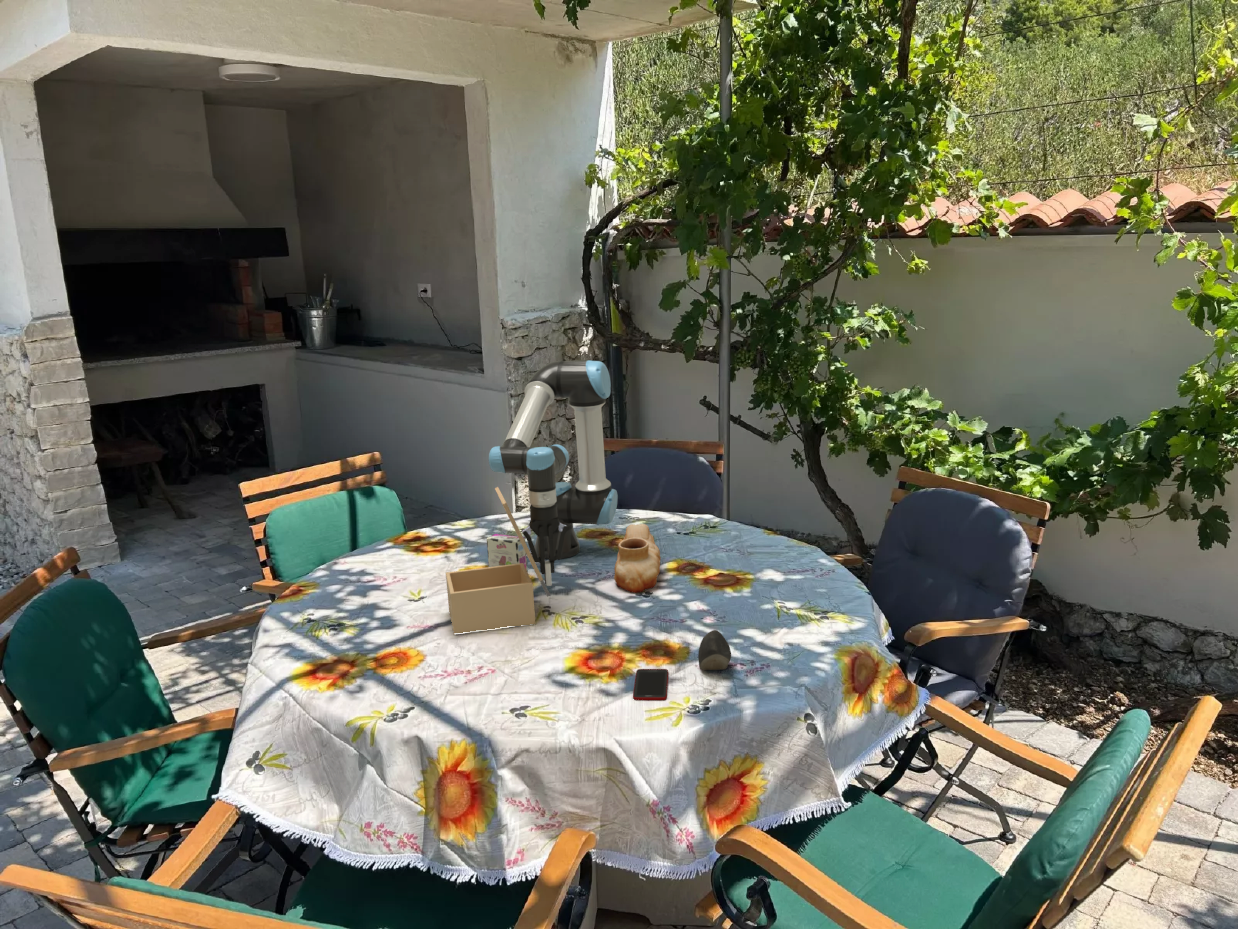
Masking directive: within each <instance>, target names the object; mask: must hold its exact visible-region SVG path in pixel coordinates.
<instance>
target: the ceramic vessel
mask: <svg viewBox="0 0 1238 929" xmlns="http://www.w3.org/2000/svg"><path fill="white" fill-rule="evenodd" d="M617 546H618V552H617V556H616V561H615V564H614V569H613V570H614V577H613V580H614V582H615V584H616V586H617V587H618V589H621V590H623V591H627V592H628V593H631V594H632V593H633V594H638V593H640V594H641V593H643V592H644V591H647V590H649V589H650V590H651V589H653V588H655V587H656V586H657V581H658V576H659V574H660V573H661V572H660V571H661V558H662V557H661V551H660V550H661V549H659V547H658V545H656V542H655V538H654V536H653V534H651V532H650V527H649V526H648V525H647V524H645V523H639V524H634V523H633V524H629V525H628V526H627V527H626V529H625V535H624V537H623V538H622V540H621V541H620V542H619V543H618V545H617Z"/></svg>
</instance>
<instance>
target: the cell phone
mask: <svg viewBox="0 0 1238 929" xmlns="http://www.w3.org/2000/svg"><path fill="white" fill-rule="evenodd" d="M668 684H669V669H667V668H637V669H636V672H635V678H634V686H633V690H632V691H633V694H632V699H634V700H633V701H644V702H645V701H661V702H662V701H666V700H667V697H668V686H669V685H668Z"/></svg>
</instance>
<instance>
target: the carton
mask: <svg viewBox="0 0 1238 929" xmlns="http://www.w3.org/2000/svg"><path fill="white" fill-rule="evenodd" d="M445 580H446V590H447V600H448V601H447V602H448V612H450V614H449V617H451V618H450V621H451V622H452V623H451V622H450V623H451V627H452V626H453V628H452V631H454V632H453V634H454V633H463V632H470V631H476V630H487V629H495V628H500V627H507V626H521V625H529V626H531V625H530V624H535V625H536V613H535V599H534V583H533V581H532V579H531V577H530V574H529V573H528V569H527V570H526V568H525V566H524V564H523V563H519V564H511V565H503V566H495V567H489V566H488V567H479V568H472V569H471V568H470V569H464V570H455V571H448V572H445ZM521 627H522V626H521Z"/></svg>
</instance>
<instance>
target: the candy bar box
mask: <svg viewBox="0 0 1238 929" xmlns="http://www.w3.org/2000/svg"><path fill="white" fill-rule="evenodd" d="M523 539H524V541H525V543H526V537H525V536H523ZM526 544H527V543H526ZM486 548H487V563H488V567H495V566H503V565H511V564H519V563H523V564H524V566H525V568H526V570H527V571H528V562H527V560H528V556H527V554H526V552H525V550H524V548H523V546H522V544H521V542H520V540H519V538H518V536H517V535H508V534H507V535H506V534H500V533H499V534H498V533H494V534H492V535H490V536H489V537H487V538H486Z"/></svg>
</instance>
